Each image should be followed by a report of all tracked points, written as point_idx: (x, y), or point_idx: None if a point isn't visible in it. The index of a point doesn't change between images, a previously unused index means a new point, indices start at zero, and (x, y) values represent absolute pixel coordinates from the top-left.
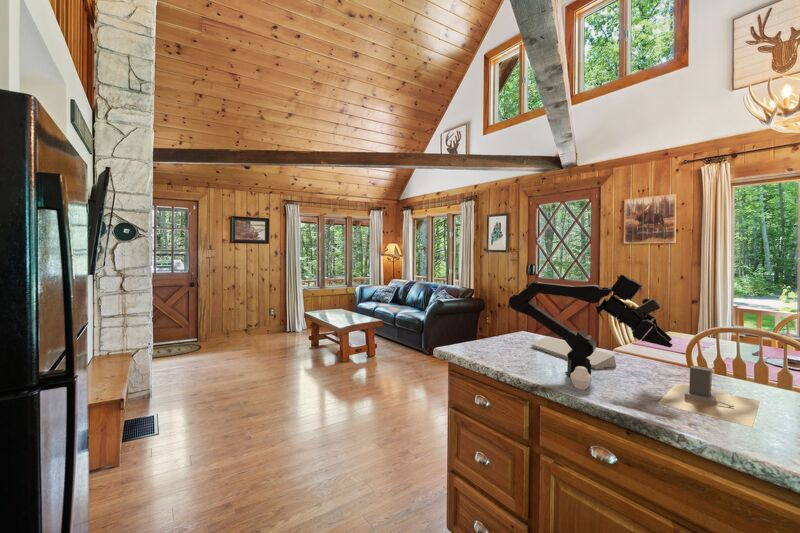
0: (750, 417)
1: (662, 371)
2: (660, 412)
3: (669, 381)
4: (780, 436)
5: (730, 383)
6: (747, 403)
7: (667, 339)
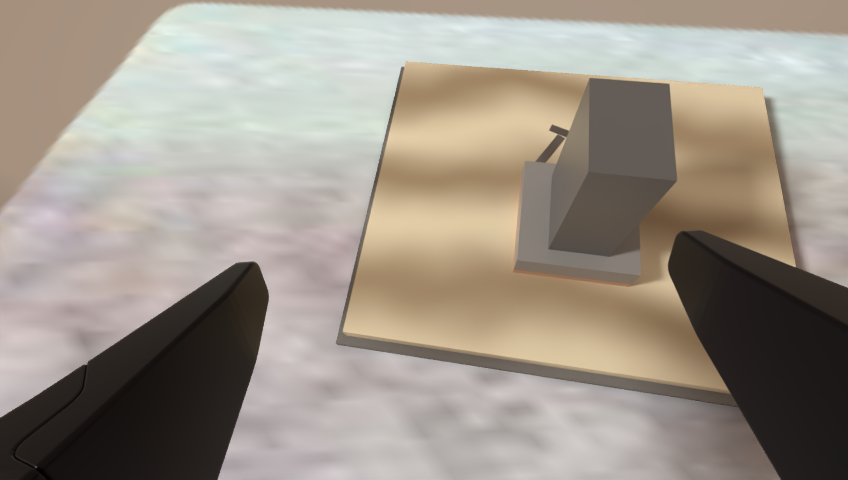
0: None
1: None
2: None
3: None
4: (701, 49)
5: (140, 143)
6: (473, 91)
7: (255, 315)
